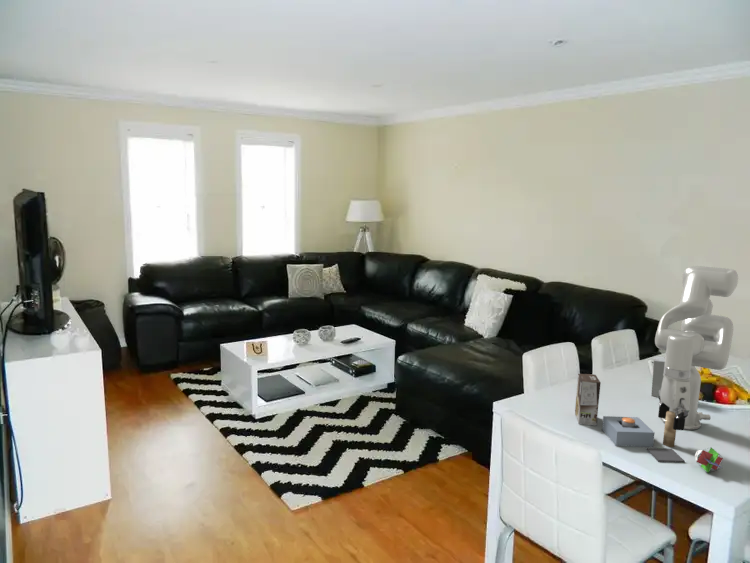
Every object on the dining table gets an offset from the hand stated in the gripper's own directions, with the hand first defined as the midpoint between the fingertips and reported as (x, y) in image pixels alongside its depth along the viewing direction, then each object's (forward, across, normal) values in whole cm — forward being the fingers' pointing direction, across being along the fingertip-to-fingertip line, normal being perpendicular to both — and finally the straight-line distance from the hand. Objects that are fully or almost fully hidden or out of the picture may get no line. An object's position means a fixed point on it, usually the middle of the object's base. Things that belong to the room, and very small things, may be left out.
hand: (670, 423), depth 178 cm
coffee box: (+8, +19, +20) cm, 29 cm away
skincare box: (+6, +45, -20) cm, 50 cm away
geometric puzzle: (+8, -15, -5) cm, 18 cm away
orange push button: (+5, +5, +11) cm, 13 cm away
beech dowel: (+8, +1, -1) cm, 8 cm away
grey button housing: (+8, +5, +11) cm, 15 cm away
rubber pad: (+8, -7, +4) cm, 12 cm away
